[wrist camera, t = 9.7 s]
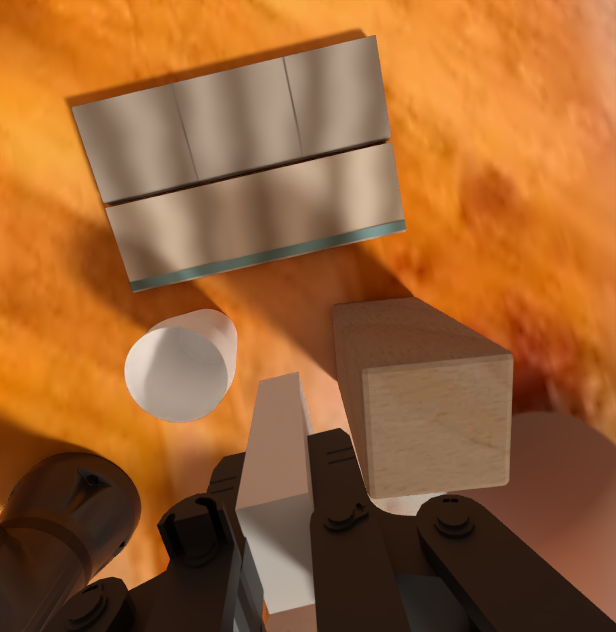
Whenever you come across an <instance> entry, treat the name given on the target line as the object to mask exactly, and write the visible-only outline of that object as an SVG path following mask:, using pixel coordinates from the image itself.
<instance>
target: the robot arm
mask: <svg viewBox="0 0 616 632" xmlns="http://www.w3.org/2000/svg"><path fill="white" fill-rule="evenodd" d="M140 515H141V503H140V498H139V494H138V492H137V489H136V488H135V486H134V484H133V482H132V481H131V480H130V478H129V477H128V476H127V475H126V474H125V473H124V472H123V471H122V470H121V469H119V468H118V467H117V466H115V465H114V464H112V463H110V462H109V461H107V460H105V459H102V458H100V457H97V456H93V455H89V454H83V453H64V454H59V455H55V456H52V457H49V458H47V459H45V460H43V461H41V462H40V463H38V464H37V465H36V466H34V467H33V468H32V469H31V470H30V471H29V472H28V473H27V474H26V475H25V476H23V477H22V478H21V480H20V481H19V482H18V483H17V484H16V486H15V487H14V489H13V491H12V493H11V495H10V497H9V499H8V502H7V504H6V506H5V507H4V509H3V511H2V512H1V514H0V632H267V631H266V628H265V625H264V622H263V619H262V612H263V597H264V599H265V602H266V605H267V608H268V611H269V614H273V613H277V612H281V611H285V610H289V609H293V608H297V607H302V606H306V605H310V604H314V603H315V609H316V622H317V632H616V623H615V622H614V621H613V620H611V619H610V618H609V617H608V616H607V615H606V614H605V613H603V612H602V611H601V610H600V609H599V608H598V607H597V606H595V604H593V603H592V602H591V601H590V600H589V599H588V598H587V597H585V596H584V595H583V594H582V593H581V592H580V591H578V589H576V588H575V587H574V586H573V585H572V584H571V583H570V582H569V581H567V580H566V579H565V578H564V577H563V576H562V575H561V574H559V573H558V572H557V571H556V570H555V569H554V568H552V566H550V565H549V564H548V563H547V562H546V561H545V560H544V559H542V558H541V557H540V556H539V555H538V554H537V553H536V552H534V551H533V550H532V549H531V548H530V547H529V546H528V545H527V544H526V543H524V542H523V541H522V540H521V539H520V538H519V537H518V536H517V535H515V534H514V533H513V532H512V531H511V530H510V529H509V528H508V527H506V526H505V525H504V524H503V523H502V522H500V520H498V519H497V518H496V517H495V516H494V515H493V514H491V513H490V512H489V511H488V510H487V509H486V508H485V507H484V506H482V505H481V504H479V503H478V502H476V501H474V500H473V499H471V498H467V497H464V496H460V495H440V496H437V497H433V498H431V499H429V500H428V501H426V502H425V503H424V504H422V505H421V507H420V509H419V511H418V512H417V515H416V516H404V515H395V514H391V513H388V512H385V511H383V510H381V509H379V508H378V507H376V506H375V505H374V504H373V503H372V502H371V500H370V498H369V496H368V494H367V491H366V488H365V484H364V481H363V478H362V475H361V471H360V468H359V465H358V462H357V458H356V455H355V452H354V449H353V445H352V442H351V439H350V436H349V435H348V434H347V433H346V432H344V431H343V430H342V429H341V428H337V429H333V430H329V431H325V432H321V433H316V434H314V431H313V427H312V423H311V419H310V415H309V411H308V407H307V403H306V399H305V395H304V392H303V388H302V384H301V380H300V376H299V372H296V373H292V374H287V375H283V376H279V377H275V378H271V379H267V380H263V381H259V386H258V391H257V396H256V402H255V407H254V412H253V418H252V423H251V428H250V434H249V439H248V444H247V450H246V452H243V453H239V454H235V455H230V456H226V457H224V458H223V459H222V460H221V461H220V463H219V464H218V465H217V466H216V467H215V469H214V470H213V473H212V477H211V480H210V485H209V486H208V490H207V493H202V494H196V495H194V496H191V497H188V498H186V499H184V500H182V501H181V502H179V503H177V504H176V505H174V506H173V507H172V508H171V509H170V510H169V511H168V512H166V513H165V514H164V515H163V517H162V518H161V520H160V521H159V523H158V525H157V527H158V529H159V532H160V534H161V537H162V540H163V542H164V545H165V547H166V550H167V552H168V555H169V557H170V561H169V564H168V567H167V570H166V571H164V572H163V573H161V574H160V575H158V576H156V577H154V578H152V579H151V580H149V581H147V582H145V583H143V584H141V585H139V586H137V587H135V588H133V589H131V590H129V591H128V589H127V587H126V585H125V584H124V582H123V580H122V579H119V578H115V577H109V578H104V579H100V580H98V581H96V582H94V583H92V584H90V585H88V583H89V581H90V580H91V579H92V578H93V577H94V576H95V575H97V574H98V573H99V572H100V571H101V570H102V569H103V568H104V567H105V566H106V565H107V564H108V563H109V562H110V561H111V560H112V559H113V558H114V557H116V556H117V555H118V554H119V553H120V552H121V551H122V550H123V549H124V547H125V546H126V545H127V543H128V542H129V540H130V539H131V537H132V535H133V533H134V531H135V529H136V527H137V525H138V523H139V520H140ZM87 585H88V586H87Z"/></svg>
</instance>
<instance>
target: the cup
mask: <svg viewBox="0 0 616 632" xmlns="http://www.w3.org/2000/svg"><path fill="white" fill-rule="evenodd" d="M236 351H237V332H236V328H235V326H234V324H233V322H232V321H231V320H230V319H229V318H228V317H227V316H226V315H225V314H223V313H222V312H219V311H217V310H214V309H200V310H197V311H193V312H190V313H186V314H183V315H179V316H176V317H172V318H169V319H166V320H164V321H162V322H160V323H158V324H156V325H155V326H153V327H152V328H151V329H150V330H149V331H148V332H147V333H146V334H145V335H144V336H143V337H141V338H140V339H139V340H138V341H137V342H136V343H135V344H134V346H133V347H132V348H131V350H130V352H129V354H128V356H127V359H126V363H125V381H126V385H127V387H128V390H129V392H130V394H131V396H132V397H133V399H134V400H135V402H136V403H137V404H138V405H139V406H140V407H141V408H142V409H143V410H145V411H146V412H147V413H149V414H151V415H152V416H154V417H156V418H159V419H162V420H165V421H169V422H190V421H194V420H197V419H200V418H202V417H204V416H206V415H208V414H209V413H210V412H212V411H213V410H214V409H215V408H216V407H217V406H218V405H219V403H220V402H221V400H222V399H223V397H224V395H225V393H226V392H227V390H228V389H229V387H230V385H231V383H232V381H233V378H234V374H235V368H236Z"/></svg>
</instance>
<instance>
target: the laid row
mask: <svg viewBox="0 0 616 632" xmlns="http://www.w3.org/2000/svg"><path fill="white" fill-rule="evenodd" d="M71 108H72V111H73V114H74V117H75V120H76V123H77V126H78V129H79V132H80V135H81V138H82V141H83V144H84V147H85V150H86V153H87V156H88V159H89V162H90V165H91V168H92V170H93V173H94V176H95V179H96V182H97V185H98V188H99V191H100V194H101V197H102V200H103V202H104V203H108V204H109V205H113V204H117V203H121V202H126V201H130V200H134V199H139V198H143V197H147V196H152V195H156V194H160V193H164V192H169V191H173V190H177V189H182V188H186V187H190V186H195V185H199V184H203V183H208V182H212V181H216V180H221V179H225V178H229V177H234V176H238V175H242V174H247V173H251V172H255V171H260V170H264V169H268V168H272V167H277V166H281V165H285V164H290V163H294V162H298V161H303V160H307V159H311V158H316V157H320V156H324V155H329V154H333V153H337V152H342V151H346V150H350V149H355V148H359V147H363V146H367V145H372V144H376V143H380V142H385V141H388V140H389V137H390V136H391V132H390V125H389V119H388V112H387V106H386V99H385V93H384V86H383V80H382V73H381V67H380V60H379V54H378V47H377V41H376V35H373V36H369V37H365V38H361V39H357V40H352V41H348V42H344V43H340V44H336V45H331V46H327V47H323V48H319V49H314V50H310V51H306V52H302V53H298V54H293V55H289V56H285V57H281V58H277V59H272V60H268V61H264V62H260V63H256V64H251V65H247V66H243V67H239V68H234V69H230V70H226V71H222V72H218V73H213V74H209V75H205V76H201V77H197V78H192V79H188V80H184V81H180V82H176V83H170V84H167V85H163V86H159V87H154V88H150V89H146V90H142V91H138V92H133V93H129V94H125V95H121V96H117V97H112V98H108V99H104V100H100V101H96V102H91V103H87V104H83V105H79V106H74V107H71Z"/></svg>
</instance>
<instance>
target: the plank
mask: <svg viewBox="0 0 616 632" xmlns="http://www.w3.org/2000/svg"><path fill="white" fill-rule="evenodd" d="M105 209H106V212H107V215H108V218H109V221H110V224H111V227H112V230H113V233H114V236H115V239H116V242H117V245H118V248H119V251H120V254H121V257H122V260H123V263H124V266H125V269H126V272H127V275H128V278H129V281H130V282H129V283H130V286H131V289H132V291H133V293H136V292H140V291H144V290H149V289H153V288H158V287H162V286H166V285H171V284H175V283H180V282H184V281H189V280H193V279H197V278H202V277H206V276H211V275H215V274H220V273H224V272H228V271H233V270H237V269H242V268H246V267H250V266H255V265H259V264H264V263H268V262H273V261H277V260H281V259H286V258H290V257H295V256H299V255H303V254H308V253H312V252H317V251H321V250H326V249H330V248H334V247H339V246H343V245H348V244H352V243H357V242H361V241H365V240H370V239H374V238H379V237H383V236H387V235H392V234H396V233H401V232H405V231H406V225H405V220H404V214H403V208H402V202H401V195H400V189H399V183H398V176H397V170H396V163H395V157H394V151H393V144H392V142H390V143H385V144H381V145H377V146H372V147H368V148H364V149H359V150H355V151H351V152H347V153H342V154H338V155H334V156H329V157H325V158H321V159H316V160H312V161H308V162H303V163H299V164H295V165H290V166H286V167H282V168H277V169H273V170H269V171H264V172H260V173H256V174H251V175H247V176H243V177H238V178H234V179H230V180H226V181H221V182H217V183H213V184H208V185H204V186H200V187H195V188H191V189H187V190H182V191H178V192H174V193H169V194H165V195H161V196H156V197H152V198H148V199H143V200H139V201H135V202H130V203H126V204H122V205H117V206H113V207H109V208H105Z"/></svg>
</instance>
